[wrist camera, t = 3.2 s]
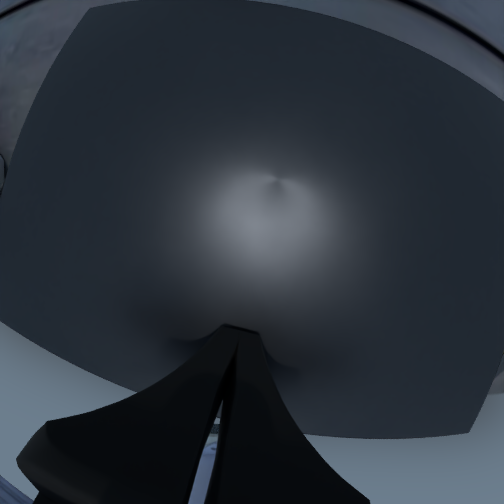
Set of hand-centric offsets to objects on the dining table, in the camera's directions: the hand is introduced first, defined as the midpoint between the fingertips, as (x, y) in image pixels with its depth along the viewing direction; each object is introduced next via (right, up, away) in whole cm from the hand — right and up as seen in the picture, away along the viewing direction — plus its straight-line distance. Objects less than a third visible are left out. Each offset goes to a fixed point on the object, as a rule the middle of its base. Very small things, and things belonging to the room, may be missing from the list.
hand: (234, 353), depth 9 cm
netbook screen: (+1, +6, +1) cm, 6 cm away
